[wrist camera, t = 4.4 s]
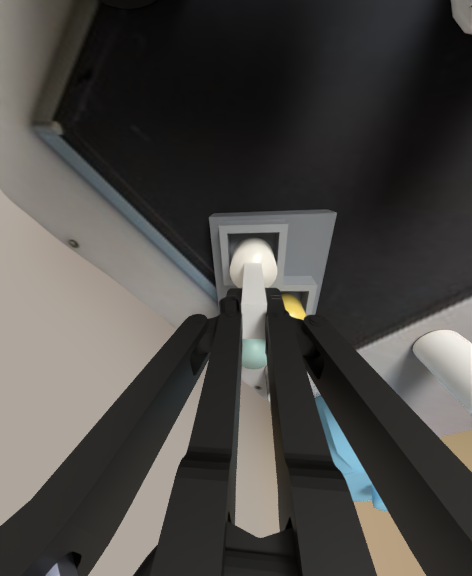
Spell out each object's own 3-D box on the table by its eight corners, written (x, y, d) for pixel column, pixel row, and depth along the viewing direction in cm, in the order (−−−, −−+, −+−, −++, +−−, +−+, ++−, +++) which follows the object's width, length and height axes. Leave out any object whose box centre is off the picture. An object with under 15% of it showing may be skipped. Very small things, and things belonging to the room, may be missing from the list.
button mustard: (267, 293, 23) (270, 313, 19) (304, 293, 22) (313, 314, 19) (265, 321, 25) (268, 343, 21) (299, 321, 25) (307, 344, 21)
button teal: (238, 326, 28) (236, 347, 25) (267, 327, 28) (269, 347, 24) (238, 347, 30) (237, 368, 27) (266, 347, 30) (267, 369, 26)
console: (213, 213, 24) (203, 221, 19) (327, 209, 22) (347, 216, 18) (225, 339, 34) (221, 364, 30) (302, 340, 33) (310, 367, 28)
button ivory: (232, 237, 20) (228, 249, 16) (274, 236, 19) (279, 248, 16) (234, 274, 22) (230, 292, 18) (271, 274, 21) (275, 292, 18)
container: (361, 365, 36) (427, 475, 22) (405, 421, 44) (472, 526, 31) (285, 394, 42) (301, 493, 29) (336, 438, 50) (367, 530, 37)
